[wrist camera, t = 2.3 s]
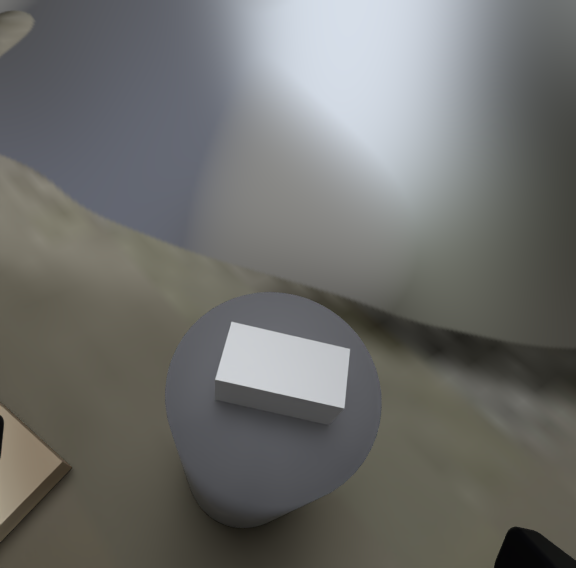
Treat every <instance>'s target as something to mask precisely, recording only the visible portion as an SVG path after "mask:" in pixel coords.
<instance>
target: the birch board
mask: <svg viewBox="0 0 576 568" xmlns="http://www.w3.org/2000/svg"><path fill="white" fill-rule="evenodd" d="M0 415H1V416H2V417H3V419H4V431H3V441H2V451H1V458H0V542H1V541H2V540H3V539H4V538H5V537H6V536H7V535H8V534H9V533H10V532H11V531H12V530H13V529H14V528H15V526H16V525H17V524H18V523H19V522H20V521H21V520H22V519H23V518H24V517H25V516H26V515H27V514H28V513H29V512H30V511H31V510H32V509H33V508H34V507H35V506H36V505H37V504H38V503H39V501H40V500H41V499H42V498H43V497H44V496H45V495H46V494H47V493H48V492H49V491H50V490H51V489H52V488H53V487H54V486H55V485H56V484H57V483H58V482H59V481H60V480H61V479H62V478H63V476H64V475H65V474H66V473H67V472H68V471H69V470H70V469H71V468H72V467H71V466H70V465H69V464H68V463H67V462H66V461H65V460H63V459H62V458H61V457H60V456H59V455H58V454H57V453H56V452H55V451H54V450H52V449H51V448H50V447H49V446H48V445H47V444H46V443H45V442H44V441H43V440H41V439H40V438H39V437H38V436H37V435H36V434H35V433H34V432H33V431H32V430H30V429H29V428H28V427H27V426H26V425H25V424H24V423H23V422H22V421H21V420H20V419H18V418H17V417H16V416H15V415H14V414H13V413H12V412H11V411H10V410H9V409H7V408H6V407H5V406H4V405H3V404H2V403H1V402H0Z"/></svg>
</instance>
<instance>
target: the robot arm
mask: <svg viewBox="0 0 576 568" xmlns="http://www.w3.org/2000/svg"><path fill="white" fill-rule="evenodd" d="M3 431H4V419H3V417H2V416H1V415H0V458H1V451H2V441H3ZM494 568H576V560H574V559H573V558H572V557H570V556H569V555H568V554H566V553H565V552H564V551H562V550H561V549H560V548H558V547H557V546H556V545H554V544H553V543H552V542H550V541H549V540H548V539H547V538H545V537H544V536H543V535H541V534H540V533H538V532H536V531H534V530H530V529H525V528H520V527H512V528H510V529H509V530H508V532H507V534H506V536H505V539H504V541H503V544H502V546H501V549H500V551H499V554H498V556H497V558H496V561H495V565H494Z"/></svg>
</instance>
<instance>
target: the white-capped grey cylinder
mask: <svg viewBox="0 0 576 568" xmlns="http://www.w3.org/2000/svg"><path fill="white" fill-rule="evenodd" d="M165 404H166V411H167V418H168V422H169V425H170V429H171V432H172V435H173V438H174V441H175V444H176V447H177V450H178V453H179V456H180V459H181V462H182V465H183V468H184V471H185V474H186V477H187V480H188V483H189V486H190V489H191V492H192V494H193V496H194V498H195V500H196V501H197V503H198V505H199V506H200V507H201V508H202V509H203V511H204V512H205V513H207V514H208V515H209V516H210V517H211V518H213V519H214V520H216V521H218V522H220V523H222V524H224V525H227V526H231V527H236V528H251V527H257V526H260V525H263V524H266V523H268V522H270V521H272V520H274V519H276V518H279V517H281V516H283V515H285V514H287V513H289V512H291V511H293V510H295V509H297V508H300V507H302V506H304V505H306V504H308V503H310V502H312V501H314V500H316V499H319V498H321V497H323V496H325V495H327V494H329V493H331V492H332V491H334V490H335V489H337V488H338V487H339V486H341V485H342V484H344V483H345V482H346V481H347V480H348V479H349V478H350V477H351V476H352V475H353V474H354V473H355V472H356V471H357V470H358V468H359V467H360V466H361V464H362V463H363V462H364V460H365V459H366V457H367V455H368V453H369V452H370V450H371V448H372V446H373V443H374V441H375V438H376V436H377V432H378V428H379V424H380V417H381V408H382V407H381V389H380V382H379V378H378V374H377V371H376V368H375V365H374V363H373V360H372V358H371V356H370V354H369V352H368V350H367V348H366V346H365V345H364V343H363V342H362V341H361V339H360V338H359V336H358V335H357V334H356V333H355V331H354V330H353V329H352V328H351V327H350V326H349V325H348V324H347V323H346V322H345V321H344V320H342V319H341V318H340V317H339V316H338V315H336V314H335V313H333V312H332V311H331V310H329V309H327V308H326V307H324V306H322V305H320V304H318V303H316V302H314V301H311V300H309V299H306V298H303V297H300V296H296V295H291V294H286V293H276V292H264V293H254V294H248V295H244V296H240V297H237V298H233V299H231V300H229V301H226V302H224V303H222V304H220V305H218V306H217V307H215V308H213V309H211V310H210V311H209V312H207V313H206V314H205V315H203V316H202V317H201V318H200V319H199V320H198V321H197V322H196V323H195V324H194V325H193V326H192V327H191V328H190V329H189V330H188V332H187V333H186V334H185V335H184V337H183V338H182V340H181V342H180V343H179V345H178V347H177V348H176V351H175V353H174V355H173V358H172V360H171V363H170V367H169V370H168V374H167V381H166V388H165Z"/></svg>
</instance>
